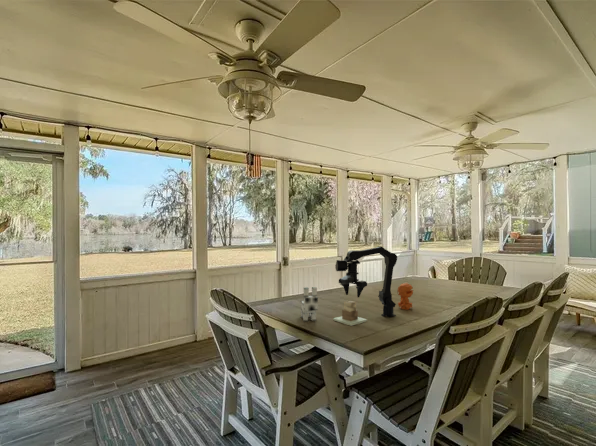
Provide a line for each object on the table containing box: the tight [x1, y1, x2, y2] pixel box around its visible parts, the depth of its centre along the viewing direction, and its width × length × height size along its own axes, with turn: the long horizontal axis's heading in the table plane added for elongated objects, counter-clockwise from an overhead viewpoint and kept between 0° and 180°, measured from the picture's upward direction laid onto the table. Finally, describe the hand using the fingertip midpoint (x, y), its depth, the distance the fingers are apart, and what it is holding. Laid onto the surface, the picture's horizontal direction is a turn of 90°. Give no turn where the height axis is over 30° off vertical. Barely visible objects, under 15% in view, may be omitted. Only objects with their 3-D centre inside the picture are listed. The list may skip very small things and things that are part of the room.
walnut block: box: [341, 309, 359, 321], centre depth 186 cm, size 6×6×5 cm
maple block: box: [343, 300, 357, 312], centre depth 186 cm, size 5×5×5 cm
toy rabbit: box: [300, 286, 319, 322], centre depth 190 cm, size 8×18×20 cm, turn 10°
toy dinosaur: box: [396, 282, 414, 311], centre depth 214 cm, size 11×11×18 cm
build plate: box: [332, 315, 368, 326], centre depth 186 cm, size 14×14×1 cm
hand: (352, 296), depth 194 cm, fingers open, 9 cm apart
